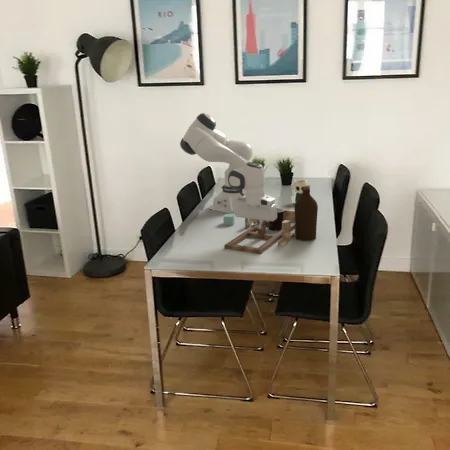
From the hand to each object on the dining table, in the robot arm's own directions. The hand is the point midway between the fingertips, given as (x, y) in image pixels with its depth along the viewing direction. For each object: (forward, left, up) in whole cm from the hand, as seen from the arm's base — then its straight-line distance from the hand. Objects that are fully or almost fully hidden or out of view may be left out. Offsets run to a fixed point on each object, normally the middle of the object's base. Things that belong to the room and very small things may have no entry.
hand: (255, 228), depth 236 cm
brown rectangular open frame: (0, +6, -7) cm, 10 cm away
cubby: (0, +36, -7) cm, 37 cm away
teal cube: (-25, +20, -7) cm, 33 cm away
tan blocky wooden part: (+12, +6, -7) cm, 16 cm away
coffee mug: (0, +23, -7) cm, 24 cm away
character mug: (-6, +73, -7) cm, 74 cm away
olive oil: (+19, +14, -7) cm, 25 cm away
